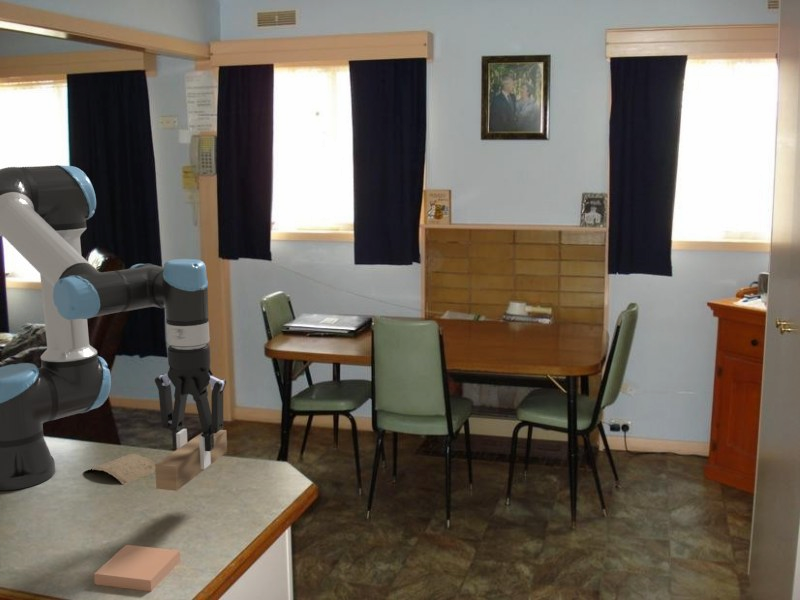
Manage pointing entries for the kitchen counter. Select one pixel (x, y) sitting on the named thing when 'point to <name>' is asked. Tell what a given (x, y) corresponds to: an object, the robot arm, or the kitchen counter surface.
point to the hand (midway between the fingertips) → (194, 465)
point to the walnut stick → (187, 462)
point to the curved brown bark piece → (128, 467)
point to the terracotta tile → (137, 567)
